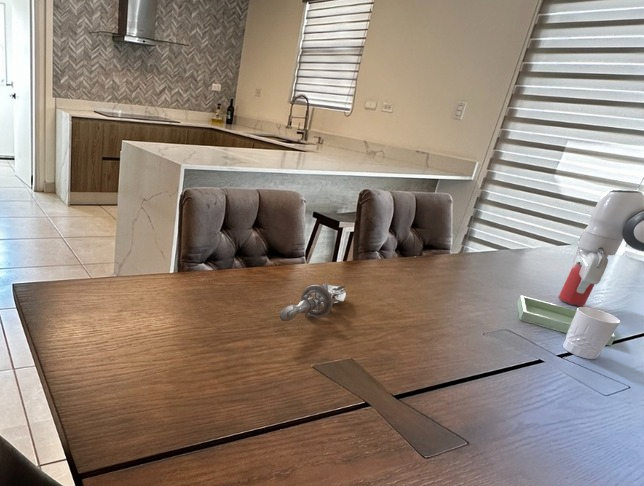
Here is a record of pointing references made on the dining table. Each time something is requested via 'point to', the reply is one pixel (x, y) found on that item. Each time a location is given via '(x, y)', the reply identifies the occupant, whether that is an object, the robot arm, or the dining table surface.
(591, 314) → the white cup
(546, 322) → the serving tray
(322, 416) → the dining table surface
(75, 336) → the dining table surface
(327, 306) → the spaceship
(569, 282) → the beer can
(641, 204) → the robot arm
